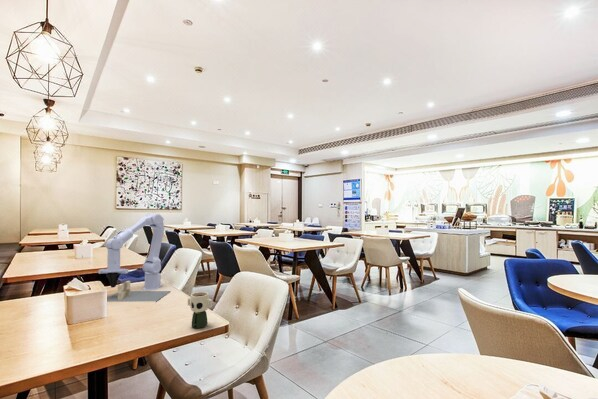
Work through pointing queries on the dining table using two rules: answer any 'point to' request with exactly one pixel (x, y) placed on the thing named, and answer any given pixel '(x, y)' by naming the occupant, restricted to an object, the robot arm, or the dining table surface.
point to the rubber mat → (139, 296)
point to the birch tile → (123, 290)
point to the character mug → (199, 308)
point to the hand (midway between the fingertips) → (113, 287)
